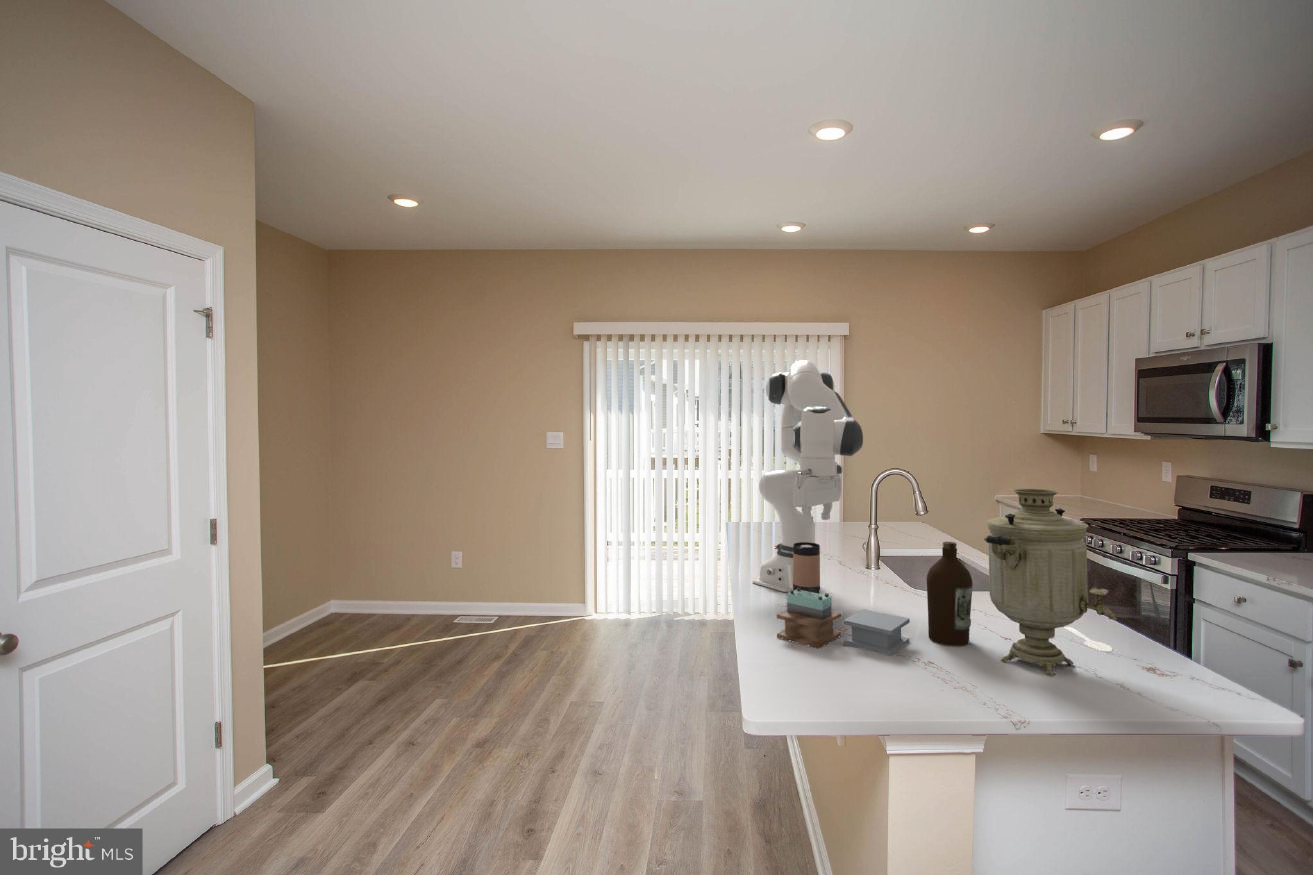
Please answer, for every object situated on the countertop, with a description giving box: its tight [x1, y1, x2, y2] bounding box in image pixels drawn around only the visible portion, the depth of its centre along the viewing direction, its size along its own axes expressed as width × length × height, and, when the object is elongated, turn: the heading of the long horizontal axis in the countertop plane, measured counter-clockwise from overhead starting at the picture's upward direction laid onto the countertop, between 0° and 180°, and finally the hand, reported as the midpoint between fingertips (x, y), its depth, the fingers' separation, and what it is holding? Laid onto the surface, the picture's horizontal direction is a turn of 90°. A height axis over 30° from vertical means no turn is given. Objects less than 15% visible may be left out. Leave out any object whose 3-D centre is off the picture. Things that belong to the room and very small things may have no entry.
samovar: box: [984, 488, 1117, 677], centre depth 143 cm, size 30×26×40 cm
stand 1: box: [776, 609, 842, 649], centre depth 164 cm, size 12×12×6 cm
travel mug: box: [793, 542, 821, 594], centre depth 183 cm, size 8×8×20 cm
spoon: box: [1062, 625, 1113, 653], centre depth 162 cm, size 5×18×1 cm, turn 175°
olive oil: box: [926, 541, 973, 647], centre depth 161 cm, size 11×11×25 cm
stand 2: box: [843, 608, 910, 657], centre depth 159 cm, size 12×12×6 cm
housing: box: [786, 588, 833, 620], centre depth 164 cm, size 10×5×6 cm, turn 48°
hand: (817, 521), depth 165 cm, fingers open, 8 cm apart
